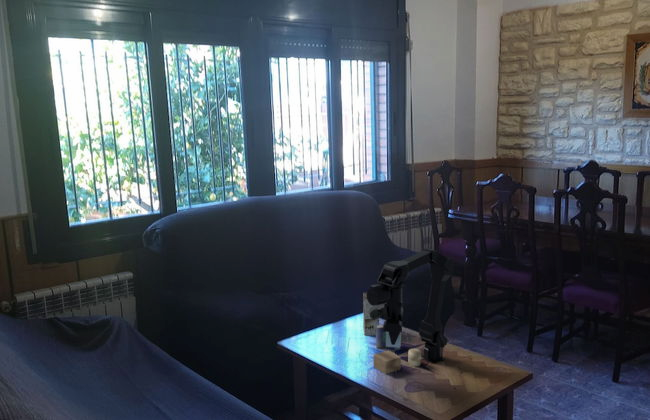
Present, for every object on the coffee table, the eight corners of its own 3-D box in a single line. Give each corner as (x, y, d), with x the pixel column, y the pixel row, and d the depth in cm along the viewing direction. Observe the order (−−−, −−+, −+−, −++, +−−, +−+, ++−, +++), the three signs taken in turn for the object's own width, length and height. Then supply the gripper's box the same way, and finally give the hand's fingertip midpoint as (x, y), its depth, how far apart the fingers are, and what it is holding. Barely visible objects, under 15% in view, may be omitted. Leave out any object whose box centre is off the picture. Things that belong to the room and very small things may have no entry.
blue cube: (386, 340, 196) (386, 327, 195) (400, 341, 195) (400, 328, 194) (385, 346, 191) (385, 333, 190) (400, 347, 190) (400, 333, 189)
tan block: (388, 362, 205) (388, 350, 204) (400, 370, 199) (400, 357, 198) (373, 367, 201) (373, 354, 200) (385, 374, 195) (385, 361, 195)
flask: (377, 349, 216) (377, 323, 215) (374, 346, 219) (374, 320, 217) (398, 346, 219) (399, 320, 218) (395, 343, 222) (395, 318, 220)
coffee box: (379, 335, 230) (379, 298, 227) (364, 335, 230) (364, 298, 227) (377, 327, 239) (378, 291, 236) (363, 327, 239) (363, 291, 236)
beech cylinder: (415, 360, 207) (415, 347, 206) (423, 364, 203) (423, 352, 202) (405, 362, 205) (406, 350, 204) (413, 367, 201) (413, 354, 200)
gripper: (372, 289, 200) (372, 329, 203) (368, 307, 182) (368, 351, 185) (403, 290, 198) (402, 331, 201) (402, 308, 180) (401, 353, 183)
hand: (393, 341), depth 193 cm, fingers closed on blue cube, 5 cm apart
